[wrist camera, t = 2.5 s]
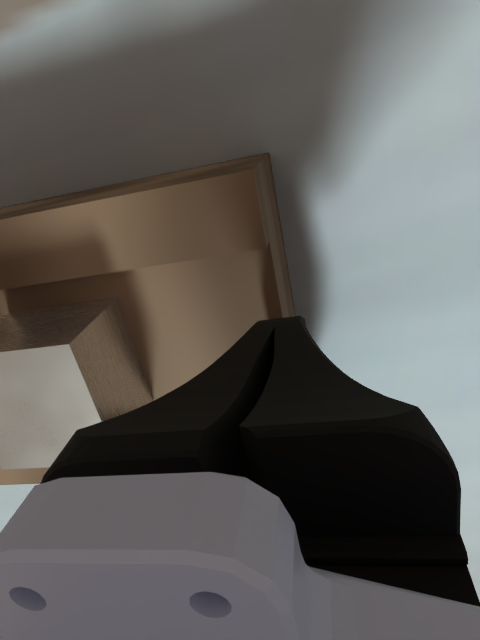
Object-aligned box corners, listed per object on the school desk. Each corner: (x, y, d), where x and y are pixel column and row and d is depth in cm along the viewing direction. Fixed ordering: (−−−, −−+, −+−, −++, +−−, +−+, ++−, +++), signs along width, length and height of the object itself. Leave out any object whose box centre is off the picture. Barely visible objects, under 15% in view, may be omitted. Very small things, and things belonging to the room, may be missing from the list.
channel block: (268, 152, 14) (252, 169, 10) (307, 391, 18) (307, 473, 14) (-83, 225, 18) (-204, 260, 13) (16, 414, 22) (-53, 486, 18)
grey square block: (117, 297, 13) (68, 344, 10) (153, 400, 15) (119, 464, 12) (8, 312, 14) (-62, 359, 11) (54, 408, 16) (2, 469, 13)
